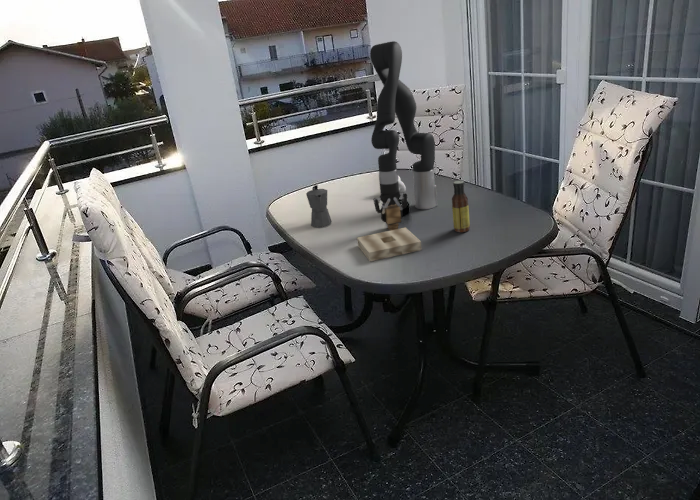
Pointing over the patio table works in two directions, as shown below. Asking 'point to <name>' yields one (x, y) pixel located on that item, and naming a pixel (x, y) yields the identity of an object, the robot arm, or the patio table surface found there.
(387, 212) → the oak peg
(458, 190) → the sauce bottle
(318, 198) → the coffeepot
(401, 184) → the white knot
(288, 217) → the patio table surface
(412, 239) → the birch board
